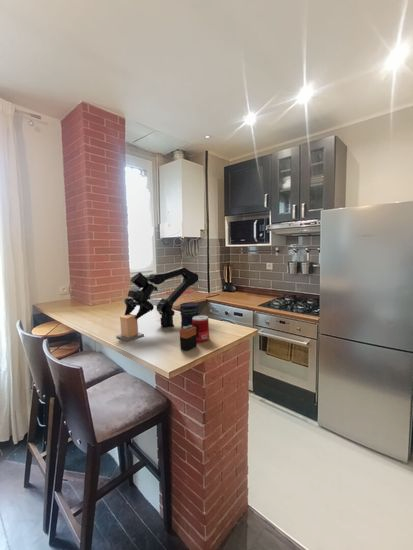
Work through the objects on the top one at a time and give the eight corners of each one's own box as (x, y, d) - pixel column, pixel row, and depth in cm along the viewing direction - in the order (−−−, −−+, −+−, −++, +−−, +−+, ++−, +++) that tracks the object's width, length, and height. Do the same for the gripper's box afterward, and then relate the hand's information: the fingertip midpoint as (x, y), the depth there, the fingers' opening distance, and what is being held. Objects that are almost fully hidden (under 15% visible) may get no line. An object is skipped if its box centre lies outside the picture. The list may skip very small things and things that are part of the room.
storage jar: (203, 329, 140) (201, 302, 139) (194, 335, 131) (193, 306, 130) (187, 328, 144) (185, 301, 143) (177, 333, 135) (176, 305, 134)
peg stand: (133, 332, 141) (133, 324, 141) (143, 336, 134) (143, 327, 134) (116, 337, 134) (115, 329, 133) (126, 341, 127) (125, 332, 126)
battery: (179, 349, 114) (178, 327, 113) (189, 344, 119) (188, 323, 118) (187, 351, 111) (186, 328, 110) (197, 346, 117) (196, 324, 116)
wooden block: (131, 332, 138) (130, 314, 137) (138, 334, 134) (136, 315, 133) (121, 335, 133) (120, 316, 132) (128, 337, 130) (126, 318, 129)
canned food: (211, 337, 127) (210, 315, 126) (206, 343, 120) (204, 320, 119) (196, 336, 130) (195, 314, 129) (190, 341, 123) (189, 319, 121)
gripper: (125, 283, 142) (109, 307, 134) (147, 285, 130) (130, 311, 123) (138, 295, 149) (123, 318, 141) (160, 297, 137) (145, 323, 130)
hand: (130, 317), depth 134 cm, fingers open, 9 cm apart
